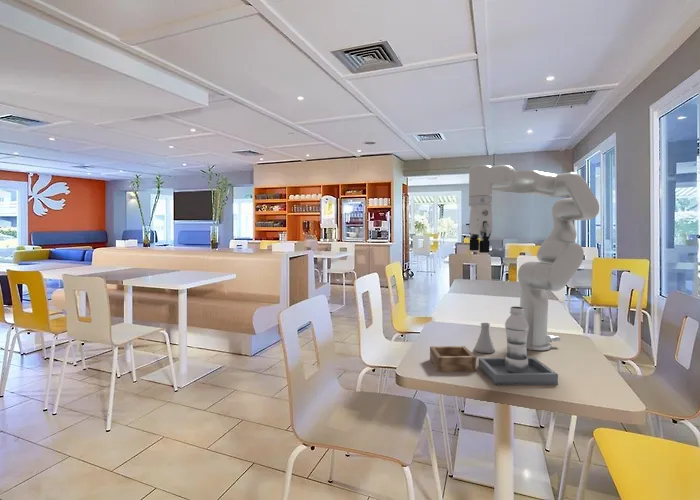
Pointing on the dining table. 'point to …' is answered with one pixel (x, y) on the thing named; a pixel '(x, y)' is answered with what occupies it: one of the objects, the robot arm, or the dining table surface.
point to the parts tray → (501, 376)
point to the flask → (485, 340)
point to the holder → (452, 359)
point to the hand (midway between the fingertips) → (479, 251)
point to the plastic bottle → (516, 341)
